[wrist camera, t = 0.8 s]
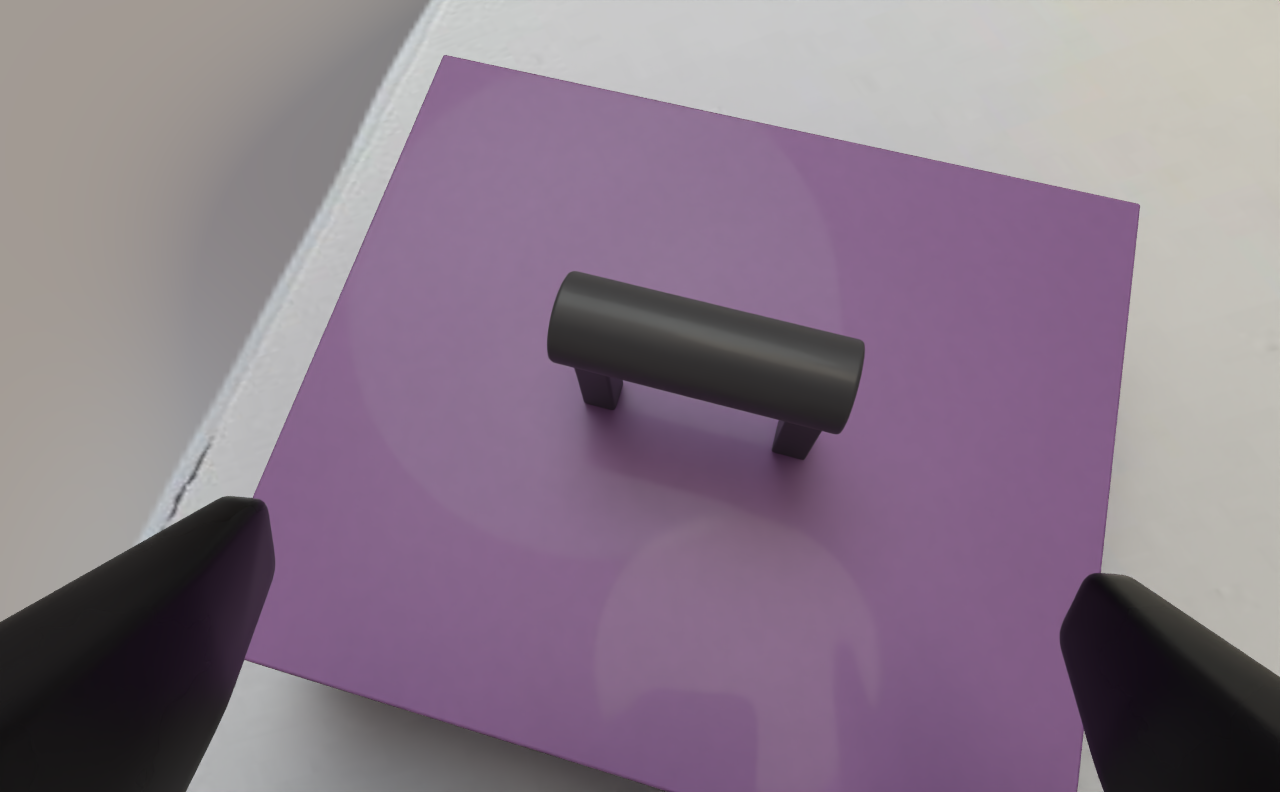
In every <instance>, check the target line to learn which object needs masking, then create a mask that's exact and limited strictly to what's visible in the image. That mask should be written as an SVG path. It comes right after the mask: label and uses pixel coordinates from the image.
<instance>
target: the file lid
mask: <svg viewBox="0 0 1280 792" xmlns="http://www.w3.org/2000/svg"><path fill="white" fill-rule="evenodd" d="M1139 211H1140V205H1139V204H1136V203H1132V202H1127V201H1122V200H1118V199H1113V198H1108V197H1104V196H1099V195H1094V194H1090V193H1085V192H1080V191H1076V190H1071V189H1066V188H1062V187H1057V186H1052V185H1048V184H1043V183H1038V182H1034V181H1029V180H1024V179H1020V178H1015V177H1011V176H1006V175H1001V174H997V173H992V172H987V171H983V170H978V169H973V168H969V167H964V166H959V165H955V164H950V163H945V162H941V161H936V160H931V159H927V158H922V157H917V156H913V155H908V154H903V153H899V152H894V151H889V150H885V149H880V148H875V147H871V146H866V145H862V144H857V143H852V142H848V141H843V140H838V139H834V138H829V137H824V136H820V135H815V134H810V133H806V132H801V131H796V130H792V129H787V128H782V127H778V126H773V125H768V124H764V123H759V122H754V121H750V120H745V119H740V118H736V117H731V116H727V115H722V114H717V113H713V112H708V111H703V110H699V109H694V108H689V107H685V106H680V105H675V104H671V103H666V102H661V101H657V100H652V99H647V98H643V97H638V96H633V95H629V94H624V93H619V92H615V91H610V90H605V89H601V88H596V87H591V86H587V85H582V84H578V83H573V82H568V81H564V80H559V79H554V78H550V77H545V76H540V75H536V74H531V73H526V72H522V71H517V70H512V69H508V68H503V67H498V66H494V65H489V64H484V63H480V62H475V61H470V60H466V59H461V58H456V57H452V56H447V55H444V56H443V58H442V60H441V63H440V65H439V67H438V70H437V72H436V74H435V77H434V79H433V81H432V84H431V86H430V88H429V91H428V93H427V95H426V97H425V100H424V102H423V104H422V107H421V109H420V111H419V114H418V116H417V118H416V121H415V123H414V125H413V128H412V130H411V132H410V135H409V137H408V139H407V141H406V144H405V146H404V148H403V151H402V153H401V155H400V158H399V160H398V162H397V165H396V167H395V169H394V172H393V174H392V176H391V179H390V181H389V183H388V185H387V188H386V190H385V192H384V195H383V197H382V199H381V202H380V204H379V206H378V209H377V211H376V213H375V216H374V218H373V220H372V223H371V225H370V227H369V229H368V232H367V234H366V236H365V239H364V241H363V243H362V246H361V248H360V250H359V253H358V255H357V257H356V260H355V262H354V264H353V267H352V269H351V271H350V273H349V276H348V278H347V280H346V283H345V285H344V287H343V290H342V292H341V294H340V297H339V299H338V301H337V304H336V306H335V308H334V311H333V313H332V315H331V317H330V320H329V322H328V324H327V327H326V329H325V331H324V334H323V336H322V338H321V341H320V343H319V345H318V348H317V350H316V352H315V355H314V357H313V359H312V361H311V364H310V366H309V368H308V371H307V373H306V375H305V378H304V380H303V382H302V385H301V387H300V389H299V392H298V394H297V396H296V399H295V401H294V403H293V405H292V408H291V410H290V412H289V415H288V417H287V419H286V422H285V424H284V426H283V429H282V431H281V433H280V436H279V438H278V440H277V443H276V445H275V447H274V449H273V452H272V454H271V456H270V459H269V461H268V463H267V466H266V468H265V470H264V473H263V475H262V477H261V480H260V482H259V484H258V487H257V489H256V491H255V493H254V496H253V498H257V499H260V500H262V501H263V502H265V504H266V506H267V508H268V511H269V517H270V524H271V531H272V538H273V545H274V552H275V572H274V577H273V580H272V583H271V586H270V589H269V592H268V595H267V597H266V600H265V603H264V606H263V609H262V611H261V614H260V617H259V620H258V623H257V625H256V628H255V631H254V634H253V636H252V639H251V642H250V645H249V648H248V650H247V653H246V656H245V659H244V660H246V661H250V662H253V663H256V664H259V665H262V666H266V667H269V668H272V669H275V670H279V671H282V672H285V673H288V674H291V675H295V676H298V677H301V678H304V679H307V680H311V681H314V682H317V683H320V684H324V685H327V686H330V687H333V688H336V689H340V690H343V691H346V692H349V693H352V694H356V695H359V696H362V697H365V698H368V699H372V700H375V701H378V702H381V703H385V704H388V705H391V706H394V707H397V708H401V709H404V710H407V711H410V712H413V713H417V714H420V715H423V716H426V717H430V718H433V719H436V720H439V721H442V722H446V723H449V724H452V725H455V726H458V727H462V728H465V729H468V730H471V731H475V732H478V733H481V734H484V735H487V736H491V737H494V738H497V739H500V740H503V741H507V742H510V743H513V744H516V745H520V746H523V747H526V748H529V749H532V750H536V751H539V752H542V753H545V754H548V755H552V756H555V757H558V758H561V759H564V760H568V761H571V762H574V763H577V764H581V765H584V766H587V767H590V768H593V769H597V770H600V771H603V772H606V773H609V774H613V775H616V776H619V777H622V778H626V779H629V780H632V781H635V782H638V783H642V784H645V785H648V786H651V787H654V788H658V789H661V790H664V791H667V792H1077V788H1078V779H1079V769H1080V760H1081V751H1082V741H1083V732H1084V728H1083V724H1082V721H1081V717H1080V714H1079V710H1078V707H1077V703H1076V700H1075V696H1074V693H1073V689H1072V686H1071V682H1070V679H1069V675H1068V672H1067V668H1066V665H1065V662H1064V658H1063V655H1062V651H1061V647H1060V639H1059V638H1060V629H1061V625H1062V622H1063V620H1064V618H1065V616H1066V614H1067V612H1068V610H1069V608H1070V606H1071V604H1072V602H1073V600H1074V598H1075V596H1076V594H1077V592H1078V590H1079V588H1080V586H1081V583H1082V582H1083V580H1084V579H1085V578H1086V577H1087V576H1088V575H1090V574H1093V573H1101V565H1102V555H1103V546H1104V537H1105V527H1106V518H1107V509H1108V499H1109V490H1110V481H1111V471H1112V462H1113V453H1114V443H1115V434H1116V425H1117V415H1118V406H1119V397H1120V388H1121V378H1122V369H1123V360H1124V350H1125V341H1126V332H1127V322H1128V313H1129V304H1130V294H1131V285H1132V276H1133V266H1134V257H1135V248H1136V238H1137V229H1138V220H1139Z"/></svg>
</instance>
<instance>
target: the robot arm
mask: <svg viewBox="0 0 1280 792" xmlns="http://www.w3.org/2000/svg"><path fill="white" fill-rule="evenodd" d="M274 572H275V552H274V545H273V538H272V531H271V524H270V517H269V511H268V508H267V506H266V504H265V502H263V501H262V500H260V499H257V498H246V497H234V496H225V497H222V498H220V499H217V500H216V501H214V502H212V503H210V504H209V505H207V506H205V507H203V508H201V509H200V510H198V511H196V512H194V513H193V514H191V515H189V516H187V517H185V518H184V519H182V520H180V521H178V522H177V523H175V524H173V525H171V526H170V527H168V528H166V529H164V530H162V531H161V532H159V533H157V534H155V535H154V536H152V537H150V538H148V539H147V540H145V541H143V542H141V543H139V544H138V545H136V546H134V547H132V548H131V549H129V550H127V551H125V552H124V553H122V554H120V555H118V556H116V557H115V558H113V559H111V560H109V561H108V562H106V563H104V564H102V565H101V566H99V567H97V568H95V569H94V570H92V571H90V572H88V573H86V574H85V575H83V576H81V577H79V578H78V579H76V580H74V581H72V582H70V583H69V584H67V585H65V586H63V587H62V588H60V589H58V590H56V591H54V592H53V593H51V594H49V595H48V596H46V597H44V598H42V599H40V600H39V601H37V602H35V603H34V604H31V605H30V606H28V607H26V608H24V609H23V610H21V611H19V612H17V613H16V614H14V615H12V616H10V617H8V618H7V619H5V620H3V621H1V622H0V792H186V790H187V788H188V786H189V784H190V782H191V780H192V778H193V776H194V774H195V772H196V770H197V768H198V766H199V764H200V762H201V760H202V758H203V756H204V754H205V752H206V750H207V748H208V746H209V744H210V742H211V740H212V738H213V735H214V733H215V731H216V729H217V727H218V725H219V723H220V721H221V718H222V716H223V714H224V712H225V710H226V707H227V705H228V702H229V700H230V697H231V695H232V692H233V689H234V687H235V684H236V681H237V678H238V676H239V673H240V670H241V667H242V664H243V662H244V659H245V656H246V653H247V650H248V648H249V645H250V642H251V639H252V636H253V634H254V631H255V628H256V625H257V623H258V620H259V617H260V614H261V611H262V609H263V606H264V603H265V600H266V597H267V595H268V592H269V589H270V586H271V583H272V580H273V577H274ZM1059 639H1060V647H1061V651H1062V655H1063V658H1064V662H1065V665H1066V668H1067V672H1068V675H1069V679H1070V682H1071V686H1072V689H1073V693H1074V696H1075V700H1076V703H1077V707H1078V710H1079V714H1080V717H1081V721H1082V724H1083V728H1084V731H1085V735H1086V738H1087V742H1088V745H1089V748H1090V752H1091V755H1092V758H1093V761H1094V765H1095V768H1096V771H1097V774H1098V777H1099V779H1100V782H1101V785H1102V787H1103V790H1104V792H1280V677H1279V676H1277V675H1276V674H1274V673H1273V672H1272V671H1270V670H1269V669H1267V668H1266V667H1264V666H1263V665H1261V664H1260V663H1258V662H1257V661H1255V660H1254V659H1252V658H1251V657H1249V656H1248V655H1246V654H1245V653H1243V652H1242V651H1240V650H1239V649H1237V648H1236V647H1234V646H1233V645H1231V644H1230V643H1228V642H1227V641H1225V640H1224V639H1222V638H1221V637H1219V636H1218V635H1217V634H1215V633H1214V632H1212V631H1211V630H1209V629H1208V628H1206V627H1205V626H1203V625H1202V624H1200V623H1199V622H1197V621H1196V620H1194V619H1193V618H1191V617H1190V616H1188V615H1187V614H1185V613H1184V612H1182V611H1181V610H1179V609H1178V608H1176V607H1175V606H1173V605H1172V604H1170V603H1169V602H1167V601H1166V600H1164V599H1163V598H1162V597H1160V596H1159V595H1157V594H1156V593H1154V592H1153V591H1151V590H1150V589H1148V588H1147V587H1145V586H1144V585H1142V584H1141V583H1139V582H1138V581H1136V580H1135V579H1133V578H1131V577H1128V576H1125V575H1117V574H1105V573H1093V574H1090V575H1088V576H1087V577H1086V578H1085V579H1084V580H1083V582H1082V583H1081V586H1080V588H1079V590H1078V592H1077V594H1076V596H1075V598H1074V600H1073V602H1072V604H1071V606H1070V608H1069V610H1068V612H1067V614H1066V616H1065V618H1064V620H1063V622H1062V625H1061V629H1060V638H1059Z"/></svg>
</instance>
